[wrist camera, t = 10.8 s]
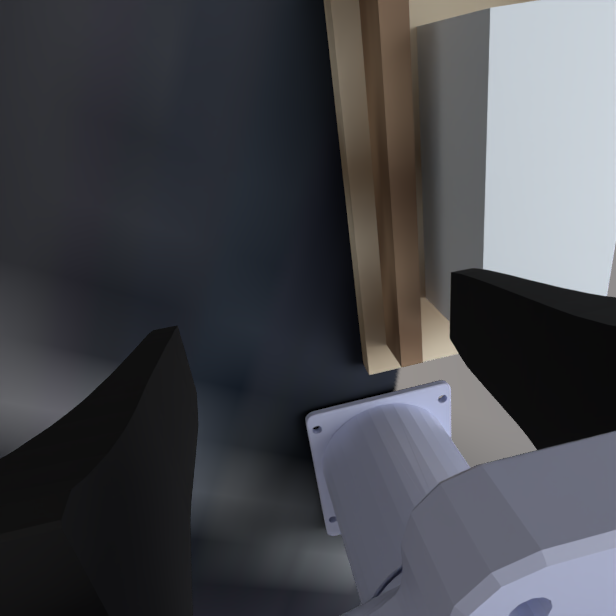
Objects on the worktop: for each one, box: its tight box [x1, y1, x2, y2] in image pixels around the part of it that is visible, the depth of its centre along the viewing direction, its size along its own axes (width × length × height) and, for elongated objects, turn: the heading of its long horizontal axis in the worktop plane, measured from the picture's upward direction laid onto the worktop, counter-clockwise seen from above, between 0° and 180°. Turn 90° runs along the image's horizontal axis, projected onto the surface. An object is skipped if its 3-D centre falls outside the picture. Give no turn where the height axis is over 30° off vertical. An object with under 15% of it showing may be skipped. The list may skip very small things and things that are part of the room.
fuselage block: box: [417, 0, 616, 322], centre depth 17 cm, size 11×5×5 cm, turn 8°
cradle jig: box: [324, 0, 536, 375], centre depth 19 cm, size 18×11×3 cm, turn 8°
